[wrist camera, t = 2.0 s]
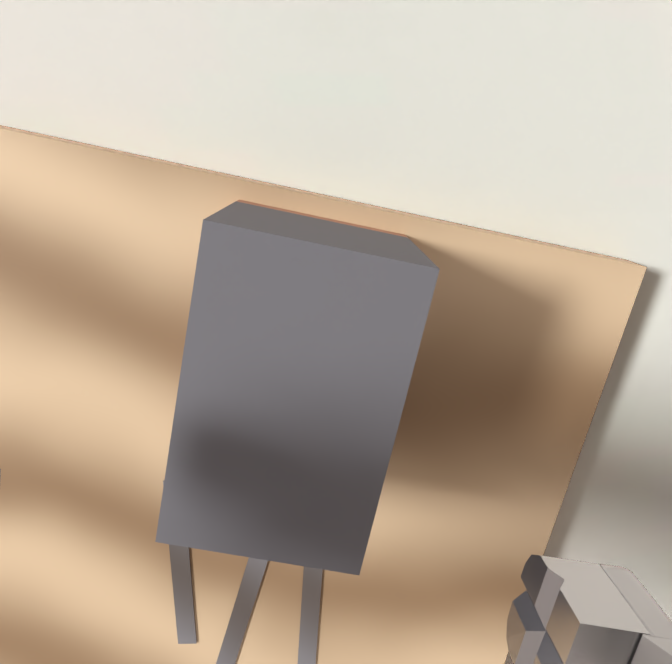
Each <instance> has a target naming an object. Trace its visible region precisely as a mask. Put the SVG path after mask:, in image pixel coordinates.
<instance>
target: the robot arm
mask: <svg viewBox="0 0 672 664" xmlns="http://www.w3.org/2000/svg"><path fill="white" fill-rule="evenodd" d="M0 478H1V469H0ZM521 579H522V582H523V584H524V587H525V589H526V591H524V592H523V593H522V594H521V595H519V596H518V597H517V598H516V599H514V600H513V601H512V604H511V608H510V611H509V615H508V618H507V633H506V640H507V645H508V651H509V655H510V657H511V660H512V663H513V664H672V621H671V620H670V619H669V618H668V616H667V615H666V614H665V613H664V611H663V610H662V609H661V607H660V606H659V605H658V604H657V602H656V601H655V600H654V599H653V597H652V596H651V595H650V594H649V592H648V591H647V590H646V589H645V587H644V586H643V585H642V584H641V582H640V581H639V580H638V578H637V577H636V576H635V575H634V573H633V572H632V571H630V570H628V569H626V568H624V567H621V566H613V565H605V564H597V563H590V562H583V561H576V560H569V559H562V558H555V557H548V556H541V555H532V554H531V556H530V557H529V559H528V560H527V561H526V563H525V565H524V568H523V571H522V574H521Z"/></svg>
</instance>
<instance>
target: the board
mask: <svg viewBox="0 0 672 664" xmlns="http://www.w3.org/2000/svg"><path fill="white" fill-rule="evenodd" d="M237 200H244V201H249V202H253V203H258V204H263V205H268V206H272V207H277V208H282V209H286V210H291V211H296V212H301V213H305V214H310V215H315V216H319V217H324V218H329V219H334V220H338V221H343V222H348V223H352V224H357V225H362V226H367V227H371V228H376V229H381V230H386V231H390V232H395V233H400V234H404V235H406V236H407V237H408V238H409V239H410V240H411V241H412V242H413V243H414V244H415V245H416V246H417V247H418V248H419V249H420V250H421V251H422V252H423V253H424V254H425V255H426V256H427V257H428V258H429V259H430V260H431V261H432V262H433V263H434V264H435V265H436V266H437V267H438V268H439V269H440V270H439V274H438V278H437V282H436V286H435V290H434V293H433V297H432V301H431V305H430V309H429V312H428V316H427V320H426V324H425V328H424V331H423V335H422V339H421V343H420V347H419V350H418V354H417V358H416V362H415V366H414V369H413V373H412V377H411V381H410V385H409V388H408V392H407V396H406V400H405V404H404V407H403V411H402V415H401V419H400V423H399V426H398V430H397V434H396V438H395V442H394V445H393V449H392V453H391V457H390V461H389V464H388V468H387V472H386V476H385V480H384V483H383V487H382V491H381V495H380V499H379V502H378V506H377V510H376V514H375V518H374V521H373V525H372V529H371V533H370V537H369V540H368V544H367V548H366V552H365V556H364V559H363V563H362V567H361V571H360V575H353V574H347V573H341V572H335V571H329V570H323V569H317V568H310V567H304V566H298V565H292V564H286V563H280V562H274V561H268V560H262V559H256V558H250V557H244V556H237V555H231V554H225V553H219V552H213V551H207V550H201V549H195V548H189V547H183V546H177V545H171V544H164V543H158V542H155V540H156V534H157V527H158V520H159V513H160V507H161V500H162V493H163V486H164V480H165V473H166V466H167V459H168V453H169V446H170V439H171V432H172V426H173V419H174V412H175V405H176V399H177V392H178V385H179V378H180V372H181V365H182V358H183V351H184V345H185V338H186V331H187V324H188V318H189V311H190V304H191V297H192V291H193V284H194V277H195V270H196V264H197V257H198V250H199V243H200V237H201V230H202V223H203V219H205V218H207V217H209V216H210V215H212V214H214V213H216V212H218V211H219V210H221V209H223V208H225V207H226V206H228V205H230V204H232V203H234V202H235V201H237ZM646 268H647V267H645V266H642V265H639V264H637V263H634V262H631V261H628V260H625V259H620V258H615V257H611V256H606V255H602V254H597V253H592V252H588V251H583V250H578V249H574V248H569V247H564V246H560V245H555V244H550V243H546V242H541V241H536V240H532V239H527V238H522V237H518V236H513V235H509V234H504V233H499V232H495V231H490V230H485V229H481V228H476V227H471V226H467V225H462V224H457V223H453V222H448V221H443V220H439V219H434V218H429V217H425V216H420V215H416V214H411V213H406V212H402V211H397V210H392V209H388V208H383V207H378V206H374V205H369V204H364V203H360V202H355V201H350V200H346V199H341V198H336V197H332V196H327V195H323V194H318V193H313V192H309V191H304V190H299V189H295V188H290V187H285V186H281V185H276V184H271V183H267V182H262V181H257V180H253V179H248V178H244V177H239V176H234V175H230V174H225V173H220V172H216V171H211V170H206V169H202V168H197V167H192V166H188V165H183V164H178V163H174V162H169V161H164V160H160V159H155V158H151V157H146V156H141V155H137V154H132V153H127V152H123V151H118V150H113V149H109V148H104V147H99V146H95V145H90V144H85V143H81V142H76V141H71V140H67V139H62V138H58V137H53V136H48V135H44V134H39V133H34V132H30V131H25V130H20V129H16V128H11V127H6V126H2V125H0V469H1V478H0V664H504V663H505V660H506V657H507V654H508V652H509V651H508V645H507V640H506V633H507V618H508V615H509V611H510V608H511V604H512V601H513V600H514V599H516V598H517V597H518V596H519V595H521V594H522V593H523V592H524V591H526V589H525V587H524V584H523V582H522V579H521V574H522V571H523V568H524V565H525V563H526V561H527V560H528V559H529V557H530V556H531V554H532V555H541V556H543V554H544V552H545V549H546V546H547V543H548V541H549V538H550V535H551V532H552V529H553V527H554V524H555V521H556V518H557V516H558V513H559V510H560V507H561V504H562V502H563V499H564V496H565V493H566V491H567V488H568V485H569V482H570V479H571V477H572V474H573V471H574V468H575V466H576V463H577V460H578V457H579V454H580V452H581V449H582V446H583V443H584V441H585V438H586V435H587V432H588V429H589V427H590V424H591V421H592V418H593V416H594V413H595V410H596V407H597V404H598V402H599V399H600V396H601V393H602V391H603V388H604V385H605V382H606V379H607V377H608V374H609V371H610V368H611V366H612V363H613V360H614V357H615V354H616V352H617V349H618V346H619V343H620V341H621V338H622V335H623V332H624V329H625V327H626V324H627V321H628V318H629V316H630V313H631V310H632V307H633V304H634V302H635V299H636V296H637V293H638V291H639V288H640V285H641V282H642V279H643V277H644V274H645V271H646Z"/></svg>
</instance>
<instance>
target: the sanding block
mask: <svg viewBox="0 0 672 664" xmlns="http://www.w3.org/2000/svg"><path fill="white" fill-rule="evenodd" d="M439 270H440V269H439V268H438V267H437V266H436V265H435V264H434V263H433V262H432V261H431V260H430V259H429V258H428V257H427V256H426V255H425V254H424V253H423V252H422V251H421V250H420V249H419V248H418V247H417V246H416V245H415V244H414V243H413V242H412V241H411V240H410V239H409V238H408V237H407V236H406V235H404V234H400V233H395V232H390V231H386V230H381V229H376V228H371V227H367V226H362V225H357V224H352V223H348V222H343V221H338V220H334V219H329V218H324V217H319V216H315V215H310V214H305V213H301V212H296V211H291V210H286V209H282V208H277V207H272V206H268V205H263V204H258V203H253V202H249V201H244V200H237V201H235V202H234V203H232V204H230V205H228V206H226V207H225V208H223V209H221V210H219V211H218V212H216V213H214V214H212V215H210V216H209V217H207V218H205V219H203V223H202V230H201V237H200V243H199V250H198V257H197V264H196V270H195V277H194V284H193V291H192V297H191V304H190V311H189V318H188V324H187V331H186V338H185V345H184V351H183V358H182V365H181V372H180V378H179V385H178V392H177V399H176V405H175V412H174V419H173V426H172V432H171V439H170V446H169V453H168V459H167V466H166V473H165V480H164V486H163V493H162V500H161V507H160V513H159V520H158V527H157V534H156V540H155V542H158V543H164V544H171V545H177V546H183V547H189V548H195V549H201V550H207V551H213V552H219V553H225V554H231V555H237V556H244V557H250V558H256V559H262V560H268V561H274V562H280V563H286V564H292V565H298V566H304V567H310V568H317V569H323V570H329V571H335V572H341V573H347V574H353V575H360V571H361V567H362V563H363V559H364V556H365V552H366V548H367V544H368V540H369V537H370V533H371V529H372V525H373V521H374V518H375V514H376V510H377V506H378V502H379V499H380V495H381V491H382V487H383V483H384V480H385V476H386V472H387V468H388V464H389V461H390V457H391V453H392V449H393V445H394V442H395V438H396V434H397V430H398V426H399V423H400V419H401V415H402V411H403V407H404V404H405V400H406V396H407V392H408V388H409V385H410V381H411V377H412V373H413V369H414V366H415V362H416V358H417V354H418V350H419V347H420V343H421V339H422V335H423V331H424V328H425V324H426V320H427V316H428V312H429V309H430V305H431V301H432V297H433V293H434V290H435V286H436V282H437V278H438V274H439Z"/></svg>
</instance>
